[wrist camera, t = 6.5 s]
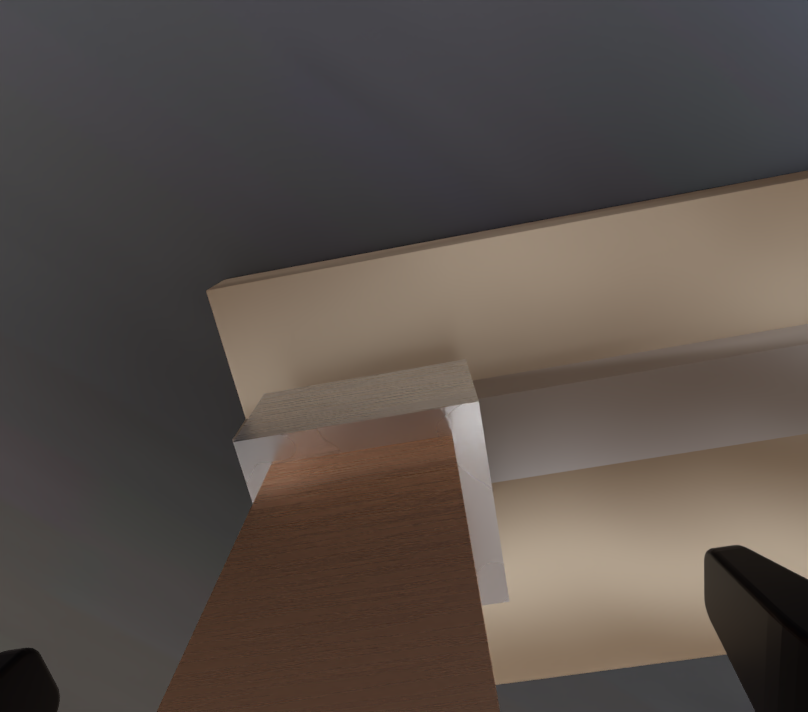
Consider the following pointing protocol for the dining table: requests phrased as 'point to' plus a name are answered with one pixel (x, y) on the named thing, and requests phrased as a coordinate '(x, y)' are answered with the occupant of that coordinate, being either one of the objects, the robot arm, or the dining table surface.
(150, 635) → the dining table surface
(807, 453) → the wooden base plate
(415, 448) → the sliding leg
